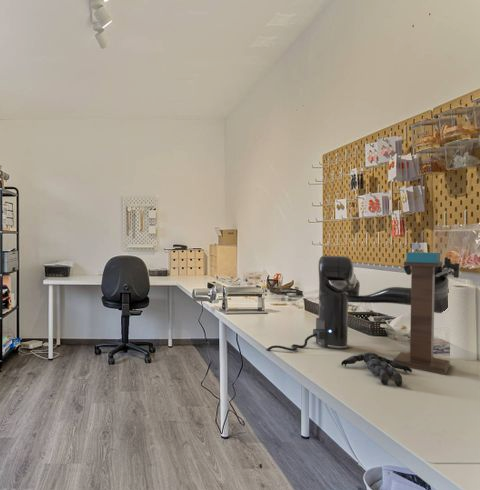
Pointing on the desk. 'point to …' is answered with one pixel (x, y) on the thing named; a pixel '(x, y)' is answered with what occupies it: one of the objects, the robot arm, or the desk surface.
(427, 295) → the stand
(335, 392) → the desk surface
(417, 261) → the back pad
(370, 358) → the dark grey jointed piece
